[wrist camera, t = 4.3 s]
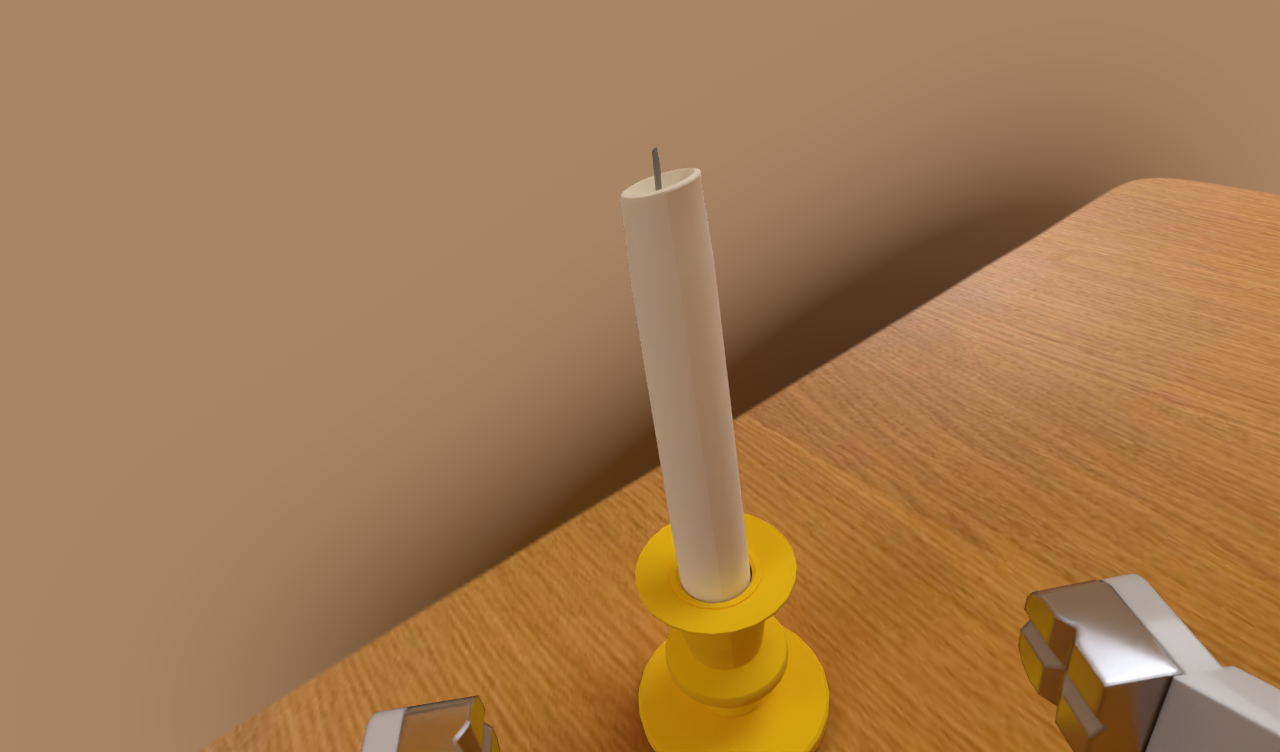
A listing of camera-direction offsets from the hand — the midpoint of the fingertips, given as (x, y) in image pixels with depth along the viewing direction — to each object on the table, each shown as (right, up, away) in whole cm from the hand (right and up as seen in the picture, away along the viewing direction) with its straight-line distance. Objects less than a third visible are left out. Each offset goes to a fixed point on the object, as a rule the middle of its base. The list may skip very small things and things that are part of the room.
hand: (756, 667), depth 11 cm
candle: (+1, -5, +10) cm, 11 cm away
